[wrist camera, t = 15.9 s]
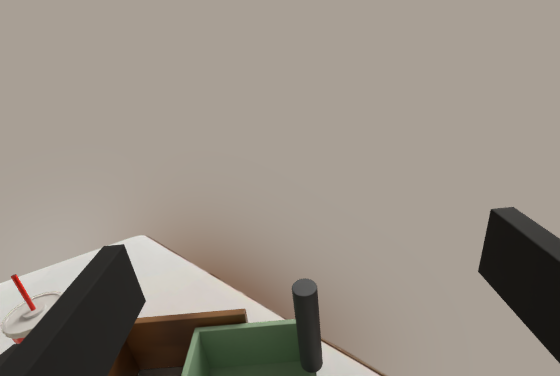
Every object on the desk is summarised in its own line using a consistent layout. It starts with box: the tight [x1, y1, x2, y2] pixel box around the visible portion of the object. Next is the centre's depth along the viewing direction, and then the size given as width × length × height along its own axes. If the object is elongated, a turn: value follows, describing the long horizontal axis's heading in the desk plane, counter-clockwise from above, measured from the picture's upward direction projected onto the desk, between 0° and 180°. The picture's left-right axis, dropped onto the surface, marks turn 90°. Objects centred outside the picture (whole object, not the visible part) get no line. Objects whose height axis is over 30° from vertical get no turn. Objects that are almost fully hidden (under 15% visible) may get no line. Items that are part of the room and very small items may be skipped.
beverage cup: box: [0, 274, 63, 344], centre depth 36 cm, size 6×6×14 cm
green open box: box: [181, 279, 323, 376], centre depth 28 cm, size 13×10×16 cm
